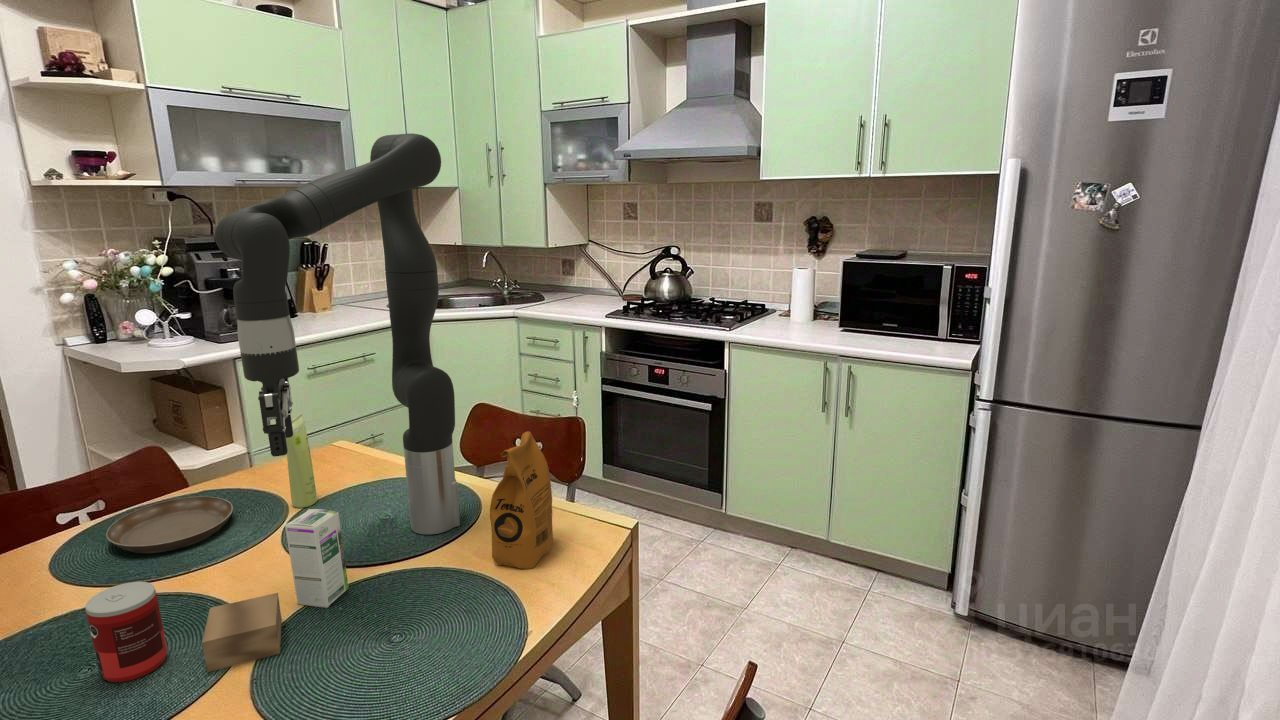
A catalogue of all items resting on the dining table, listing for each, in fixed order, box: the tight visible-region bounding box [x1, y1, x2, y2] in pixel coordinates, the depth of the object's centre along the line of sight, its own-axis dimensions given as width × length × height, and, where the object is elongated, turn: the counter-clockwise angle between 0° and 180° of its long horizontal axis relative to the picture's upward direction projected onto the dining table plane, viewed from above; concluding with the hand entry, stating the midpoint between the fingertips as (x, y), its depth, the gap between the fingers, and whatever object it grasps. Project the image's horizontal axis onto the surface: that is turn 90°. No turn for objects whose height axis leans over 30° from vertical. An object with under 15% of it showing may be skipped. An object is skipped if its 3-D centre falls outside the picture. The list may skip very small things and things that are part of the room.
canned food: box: [85, 581, 168, 683], centre depth 94 cm, size 8×8×11 cm
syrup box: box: [284, 508, 350, 609], centre depth 110 cm, size 6×6×14 cm
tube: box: [286, 412, 318, 509], centre depth 143 cm, size 6×5×20 cm
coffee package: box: [489, 430, 554, 570], centre depth 122 cm, size 10×12×22 cm
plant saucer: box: [105, 496, 234, 554], centre depth 133 cm, size 21×21×3 cm
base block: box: [201, 592, 283, 673], centre depth 99 cm, size 9×9×5 cm
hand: (283, 445), depth 106 cm, fingers open, 8 cm apart
